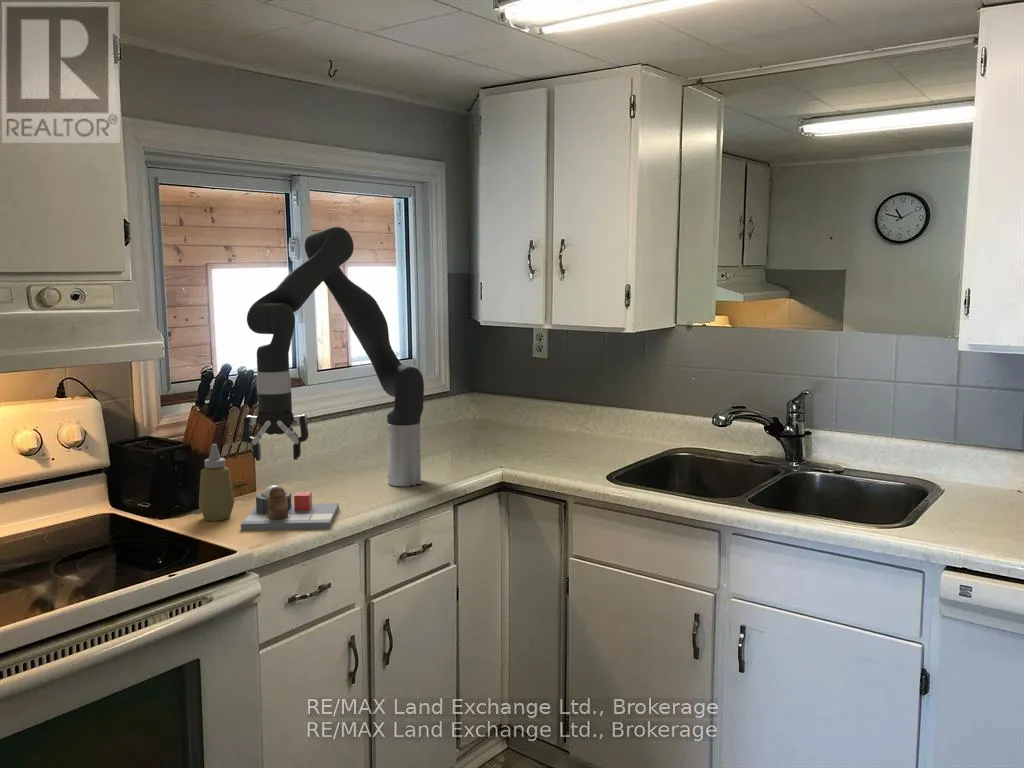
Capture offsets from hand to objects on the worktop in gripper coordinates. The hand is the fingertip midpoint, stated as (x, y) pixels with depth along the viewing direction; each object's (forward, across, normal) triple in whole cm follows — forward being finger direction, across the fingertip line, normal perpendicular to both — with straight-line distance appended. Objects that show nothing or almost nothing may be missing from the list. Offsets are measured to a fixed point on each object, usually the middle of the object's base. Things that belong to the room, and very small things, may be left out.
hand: (277, 459), depth 188 cm
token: (+14, 0, 0) cm, 14 cm away
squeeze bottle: (+15, +16, -6) cm, 23 cm away
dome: (+13, +3, -8) cm, 15 cm away
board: (+15, -2, -4) cm, 16 cm away
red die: (+14, -4, -8) cm, 16 cm away
